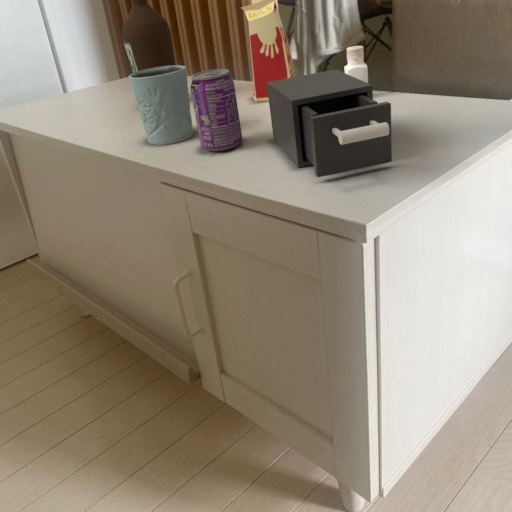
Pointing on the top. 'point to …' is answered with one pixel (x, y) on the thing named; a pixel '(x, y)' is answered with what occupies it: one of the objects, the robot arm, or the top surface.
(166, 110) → the embossed ceramic cup
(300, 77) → the cabinet
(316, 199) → the top surface
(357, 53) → the pepper shaker
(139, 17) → the olive oil
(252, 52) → the milk carton
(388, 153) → the drawer
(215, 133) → the beverage can
